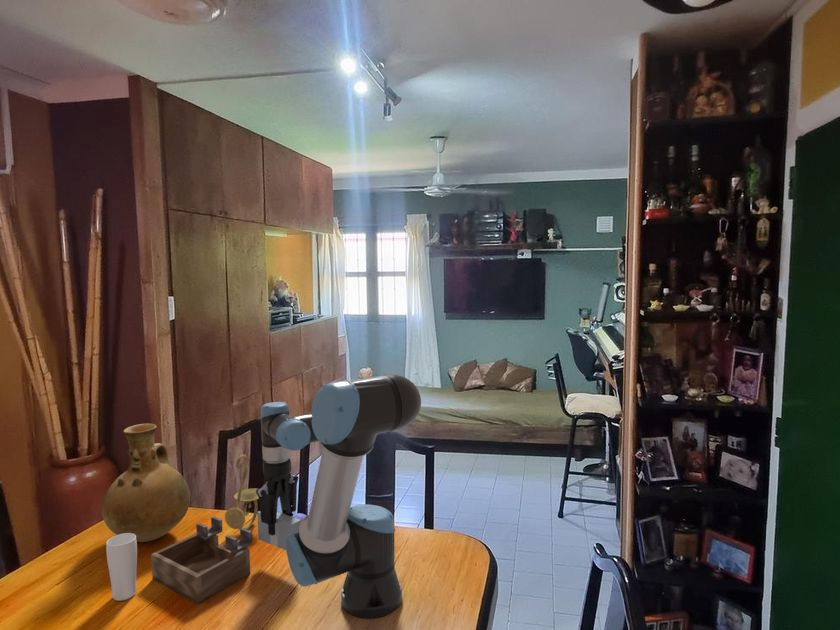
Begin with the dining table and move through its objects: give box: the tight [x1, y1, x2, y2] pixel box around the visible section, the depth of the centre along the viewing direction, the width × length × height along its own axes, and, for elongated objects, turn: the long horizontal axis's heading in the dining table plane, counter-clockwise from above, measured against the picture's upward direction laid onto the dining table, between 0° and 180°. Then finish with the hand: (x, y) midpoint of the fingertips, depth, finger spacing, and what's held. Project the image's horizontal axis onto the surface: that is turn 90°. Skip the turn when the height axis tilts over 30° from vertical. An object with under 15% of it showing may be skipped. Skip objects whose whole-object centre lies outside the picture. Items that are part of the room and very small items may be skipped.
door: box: [257, 510, 301, 551], centre depth 150 cm, size 14×4×8 cm, turn 57°
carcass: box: [150, 516, 253, 605], centre depth 147 cm, size 20×18×11 cm
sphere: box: [292, 512, 307, 522], centre depth 168 cm, size 7×7×7 cm
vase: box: [101, 423, 191, 543], centre depth 166 cm, size 24×24×35 cm
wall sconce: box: [224, 454, 259, 531], centre depth 171 cm, size 14×10×25 cm
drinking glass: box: [105, 533, 138, 602], centre depth 137 cm, size 7×7×15 cm
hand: (280, 542), depth 150 cm, fingers closed on door, 3 cm apart
